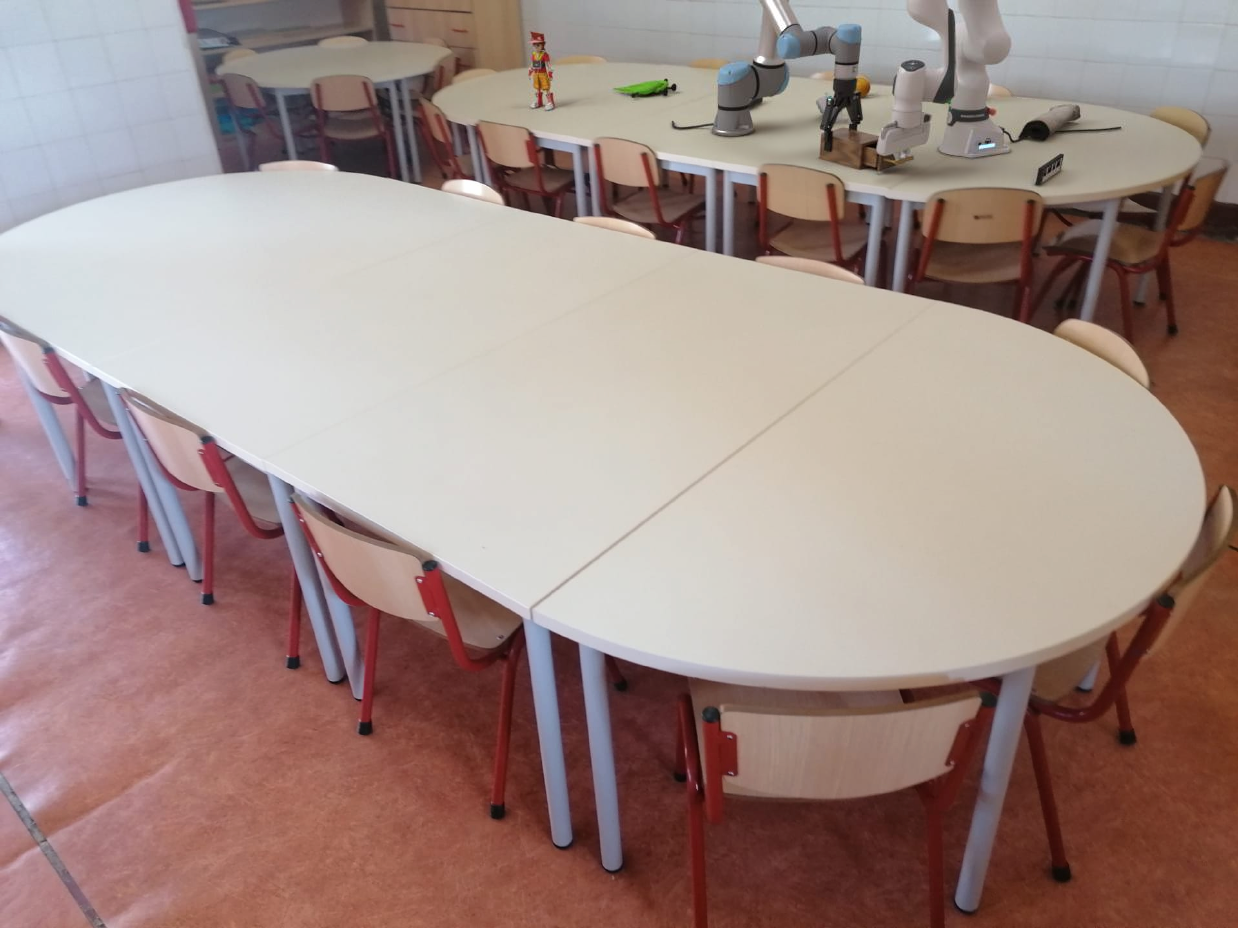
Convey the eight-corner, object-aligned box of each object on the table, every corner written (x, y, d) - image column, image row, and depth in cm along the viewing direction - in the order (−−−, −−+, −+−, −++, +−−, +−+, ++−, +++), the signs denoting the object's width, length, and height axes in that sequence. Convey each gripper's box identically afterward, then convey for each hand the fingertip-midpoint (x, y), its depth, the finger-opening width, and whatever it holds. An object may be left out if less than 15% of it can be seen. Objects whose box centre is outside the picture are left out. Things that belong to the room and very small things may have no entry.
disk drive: (747, 111, 360) (763, 102, 370) (747, 104, 359) (763, 95, 369) (724, 109, 365) (740, 100, 375) (724, 101, 363) (740, 93, 373)
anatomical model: (811, 92, 345) (837, 85, 344) (814, 119, 351) (839, 112, 350) (821, 101, 332) (848, 94, 332) (824, 129, 338) (850, 122, 337)
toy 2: (686, 85, 398) (631, 84, 414) (685, 72, 395) (629, 72, 411) (651, 104, 381) (596, 103, 397) (650, 92, 378) (594, 91, 394)
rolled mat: (1047, 109, 327) (1072, 92, 319) (1061, 130, 327) (1086, 113, 319) (1014, 132, 309) (1039, 114, 301) (1028, 154, 310) (1054, 137, 302)
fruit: (843, 89, 366) (855, 71, 363) (846, 93, 374) (858, 75, 371) (860, 101, 365) (872, 82, 362) (862, 104, 373) (874, 86, 369)
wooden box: (881, 162, 296) (884, 137, 292) (859, 169, 291) (861, 144, 287) (841, 151, 308) (843, 127, 304) (819, 158, 304) (821, 133, 299)
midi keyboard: (1039, 185, 269) (1043, 168, 266) (1035, 184, 270) (1038, 168, 267) (1060, 170, 279) (1064, 154, 277) (1056, 169, 280) (1060, 153, 277)
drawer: (914, 169, 286) (917, 149, 282) (894, 175, 282) (897, 155, 278) (860, 154, 301) (862, 136, 298) (841, 160, 297) (843, 141, 293)
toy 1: (525, 109, 381) (517, 32, 364) (534, 104, 388) (527, 28, 371) (550, 110, 377) (543, 32, 360) (559, 105, 384) (553, 28, 367)
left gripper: (828, 85, 281) (823, 157, 294) (878, 73, 292) (871, 142, 304) (811, 82, 286) (806, 152, 299) (861, 70, 297) (854, 138, 309)
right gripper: (890, 127, 269) (885, 173, 277) (935, 114, 278) (929, 159, 286) (874, 123, 274) (869, 168, 282) (919, 111, 283) (913, 155, 291)
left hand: (839, 147), depth 302 cm, fingers closed on wooden box, 11 cm apart
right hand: (900, 164), depth 284 cm, fingers closed, pressing on drawer
